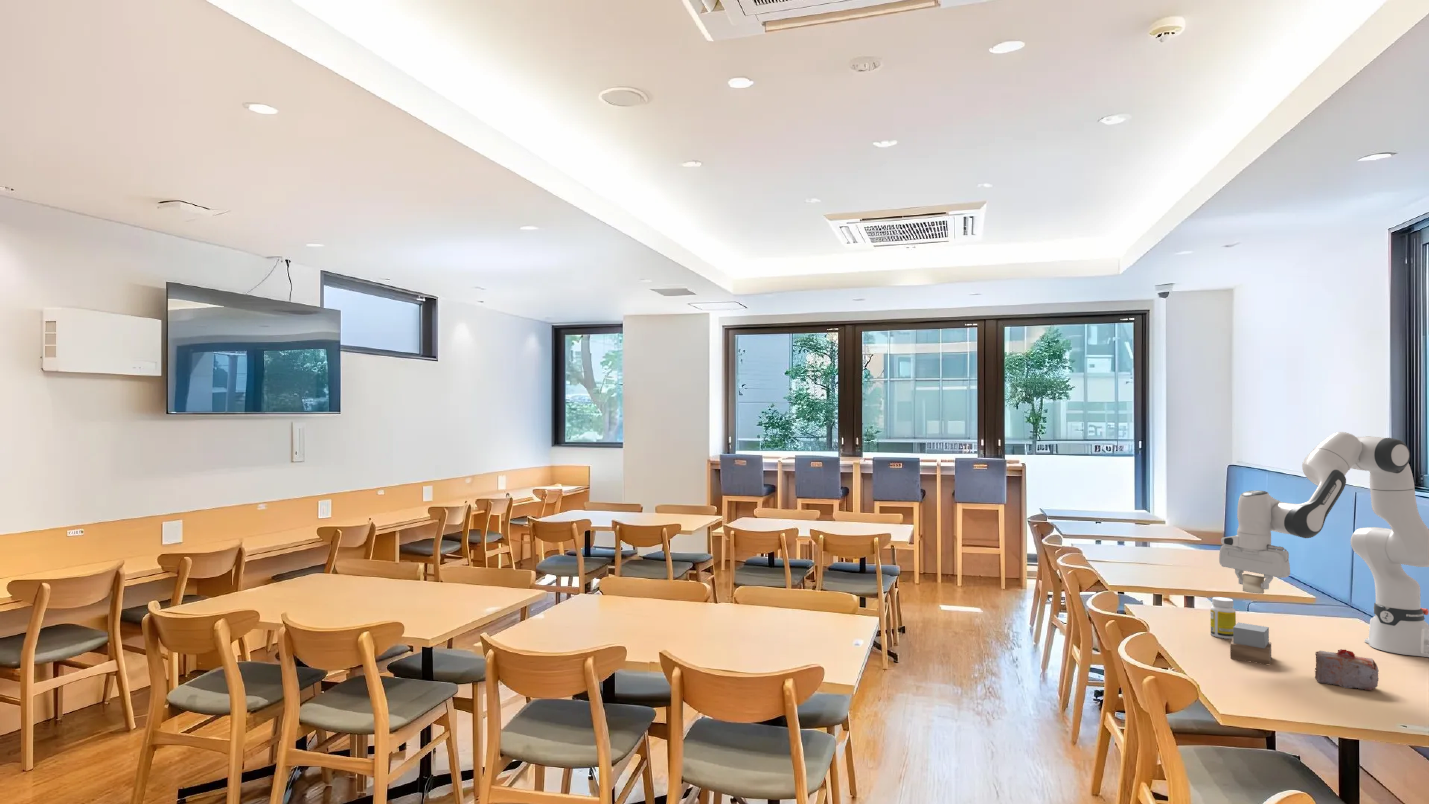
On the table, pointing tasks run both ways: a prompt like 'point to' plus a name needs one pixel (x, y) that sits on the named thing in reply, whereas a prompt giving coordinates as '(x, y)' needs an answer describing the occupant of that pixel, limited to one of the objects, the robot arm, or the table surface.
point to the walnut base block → (1250, 653)
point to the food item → (1346, 670)
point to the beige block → (1252, 583)
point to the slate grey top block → (1251, 635)
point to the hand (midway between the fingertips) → (1253, 586)
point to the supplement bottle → (1222, 617)
